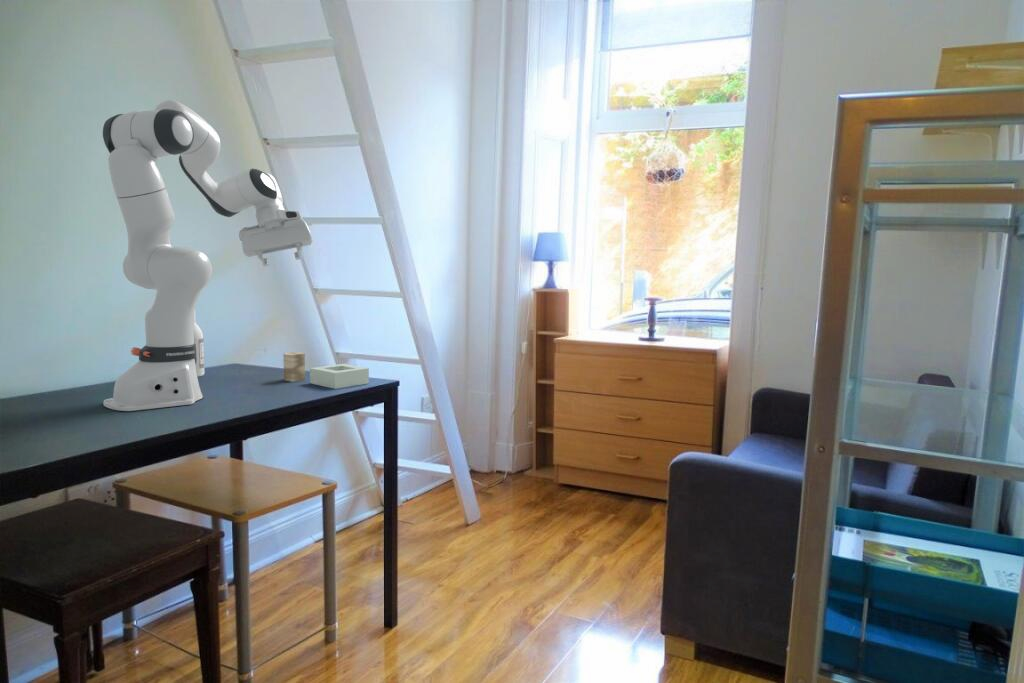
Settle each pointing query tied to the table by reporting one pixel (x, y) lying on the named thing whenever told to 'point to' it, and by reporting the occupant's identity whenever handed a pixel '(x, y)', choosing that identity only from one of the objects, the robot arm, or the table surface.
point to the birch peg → (294, 366)
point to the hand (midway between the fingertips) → (282, 261)
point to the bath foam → (199, 349)
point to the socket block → (339, 376)
